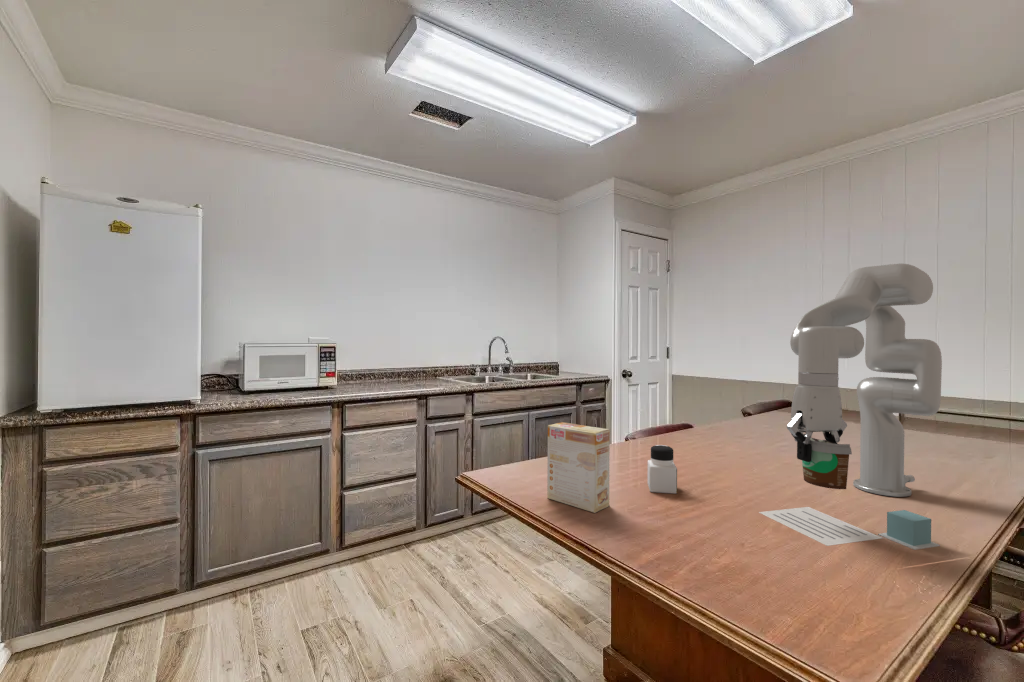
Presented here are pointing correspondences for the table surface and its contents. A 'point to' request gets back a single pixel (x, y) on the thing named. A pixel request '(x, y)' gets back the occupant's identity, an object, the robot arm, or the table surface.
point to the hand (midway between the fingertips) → (816, 458)
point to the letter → (820, 526)
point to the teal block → (909, 527)
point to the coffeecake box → (578, 465)
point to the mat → (909, 544)
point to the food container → (827, 464)
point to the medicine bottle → (662, 470)
